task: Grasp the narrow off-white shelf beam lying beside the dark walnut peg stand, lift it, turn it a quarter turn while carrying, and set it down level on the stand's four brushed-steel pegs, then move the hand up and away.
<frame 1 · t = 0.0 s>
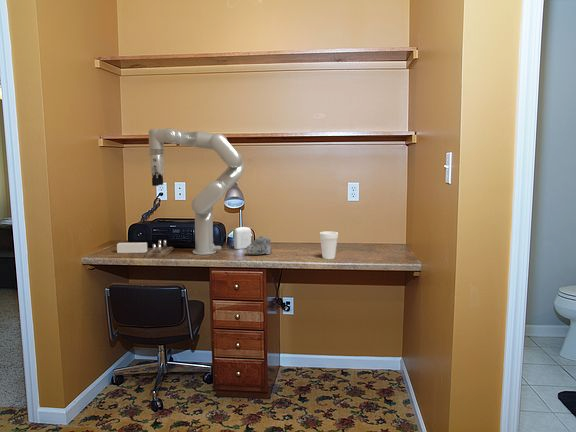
hand: (157, 185, 238), 37 cm above the table, tool pointing down, fingers open, 9 cm apart
peg stand: (160, 253, 243), on the table
mineral rock: (259, 254, 240), on the table
foam cup: (328, 258, 231), on the table
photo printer: (242, 248, 256), on the table
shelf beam: (132, 252, 246), on the table
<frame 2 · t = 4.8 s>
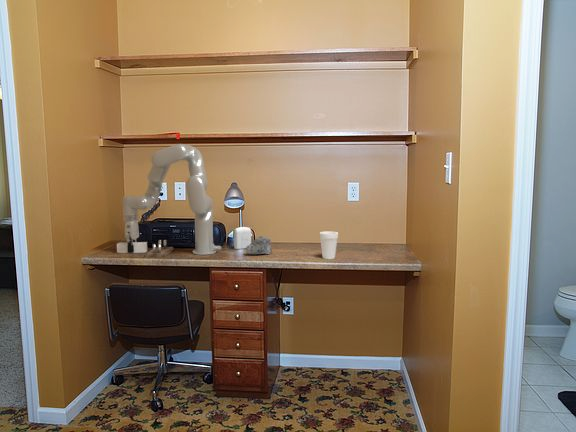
hand: (132, 250, 246), 0 cm above the table, tool pointing down, fingers closed on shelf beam, 4 cm apart
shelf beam: (132, 251, 246), on the table, touching gripper
everything else where it was.
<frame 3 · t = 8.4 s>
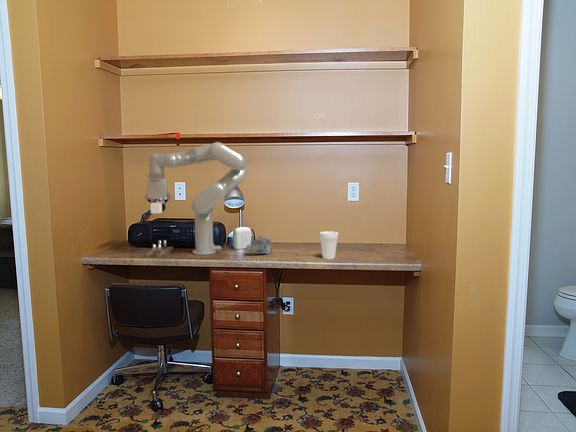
hand: (158, 210, 240), 23 cm above the table, tool pointing down, fingers closed on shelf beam, 4 cm apart
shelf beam: (158, 211, 240), point 23 cm above the table, touching gripper
everything else where it was.
when the fingers open (7 cm above the table, at t = 12.0 s): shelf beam stays where it is, resting on peg stand.
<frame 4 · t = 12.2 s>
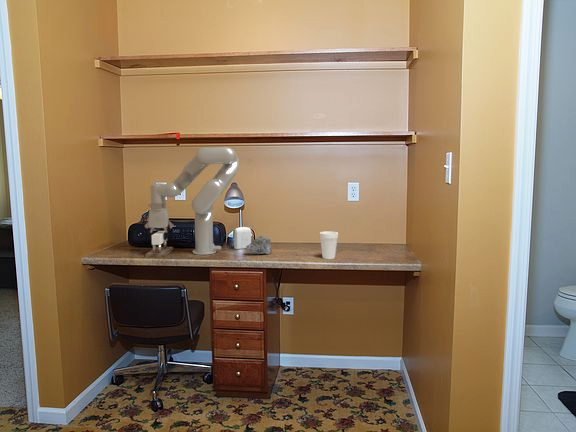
hand: (159, 239, 242), 8 cm above the table, tool pointing down, fingers open, 6 cm apart
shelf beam: (159, 242, 242), point 6 cm above the table, touching peg stand
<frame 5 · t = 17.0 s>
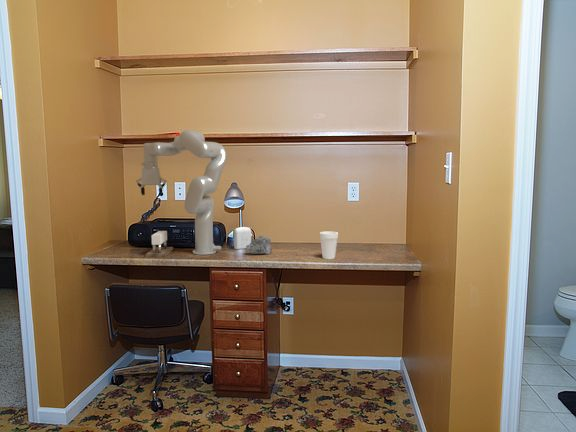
hand: (151, 195, 257), 30 cm above the table, tool pointing down, fingers open, 9 cm apart
at the end: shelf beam 0.1 cm off-centre on the peg stand, point 6.0 cm above the peg stand's base; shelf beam tilted 0°; the gripper is holding nothing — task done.
